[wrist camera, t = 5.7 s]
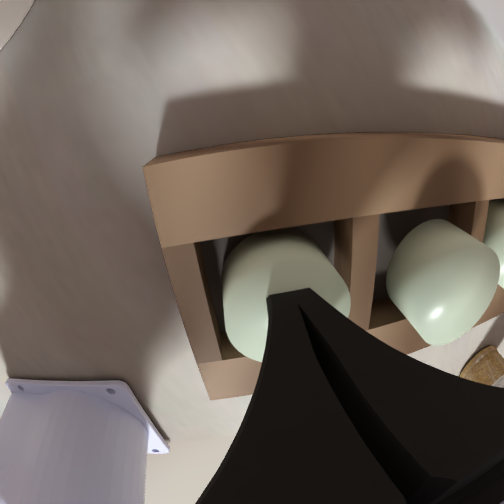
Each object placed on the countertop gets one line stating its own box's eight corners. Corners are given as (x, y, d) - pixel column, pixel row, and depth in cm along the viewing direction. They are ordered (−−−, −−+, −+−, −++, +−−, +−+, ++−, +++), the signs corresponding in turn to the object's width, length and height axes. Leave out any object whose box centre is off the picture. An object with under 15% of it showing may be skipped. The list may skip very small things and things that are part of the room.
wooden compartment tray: (209, 368, 14) (210, 400, 12) (155, 157, 10) (142, 166, 8) (497, 290, 15) (515, 306, 13) (522, 141, 11) (548, 149, 9)
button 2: (230, 327, 12) (235, 372, 10) (212, 237, 10) (213, 274, 8) (325, 309, 12) (346, 349, 10) (324, 220, 11) (353, 250, 8)
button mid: (380, 317, 11) (409, 358, 9) (391, 226, 10) (433, 258, 7) (450, 295, 12) (482, 327, 9) (467, 213, 10) (509, 238, 8)
